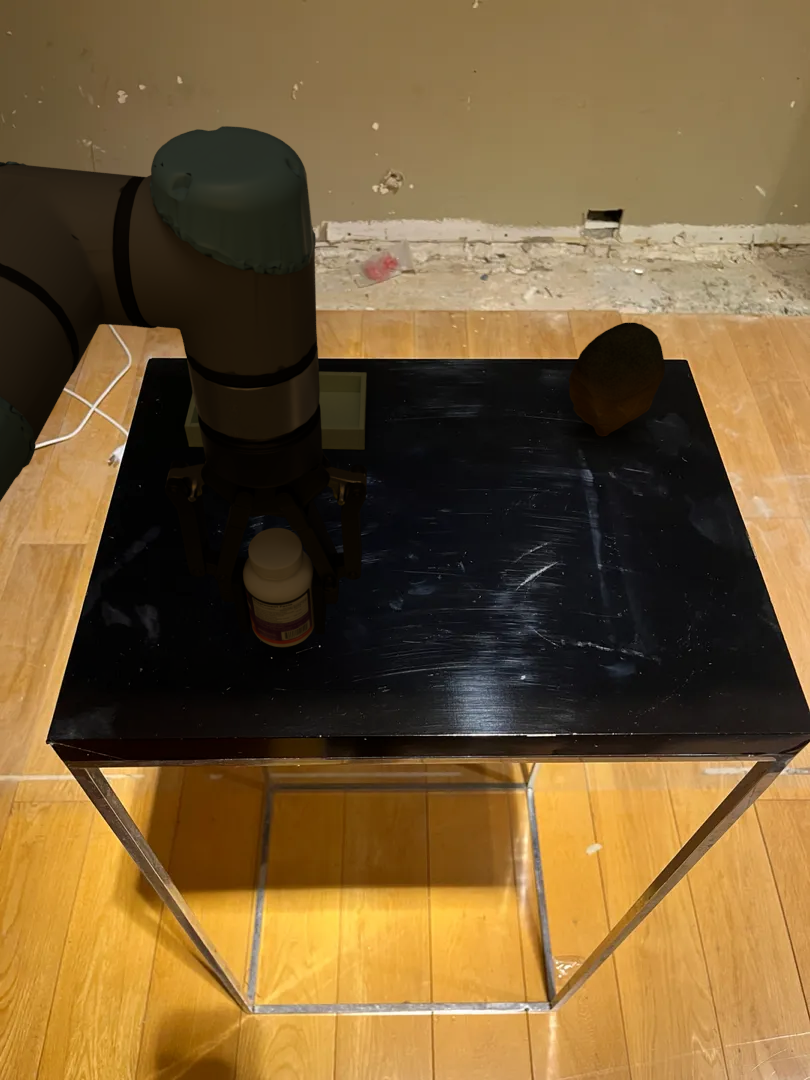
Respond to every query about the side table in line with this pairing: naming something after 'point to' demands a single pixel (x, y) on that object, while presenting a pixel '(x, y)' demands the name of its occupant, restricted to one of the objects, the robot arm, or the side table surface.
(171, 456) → the side table surface
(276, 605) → the pill bottle
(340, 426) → the tray
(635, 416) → the decorative stone
